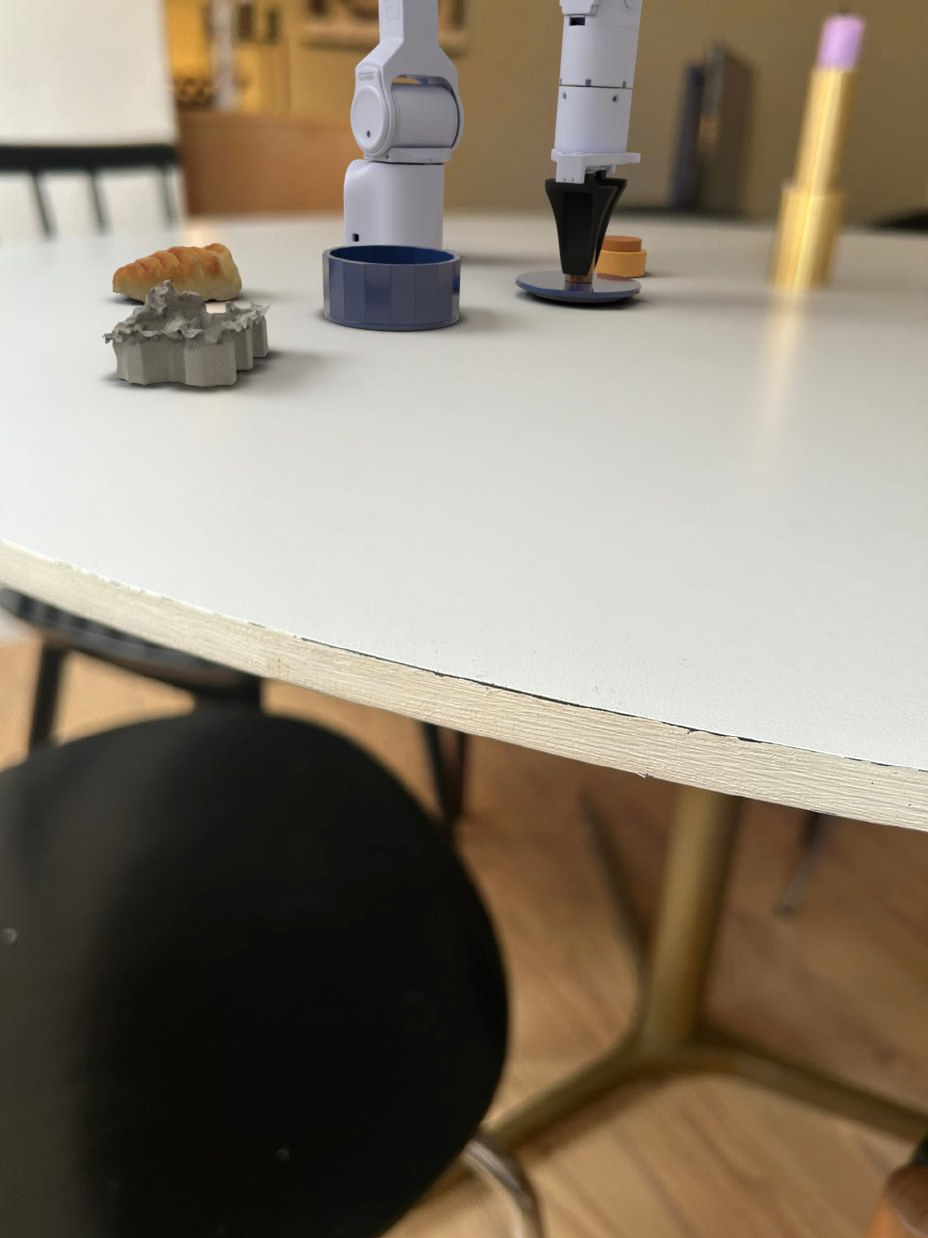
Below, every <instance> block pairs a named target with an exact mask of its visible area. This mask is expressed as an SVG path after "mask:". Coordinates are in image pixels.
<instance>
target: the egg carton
mask: <svg viewBox="0 0 928 1238" xmlns="http://www.w3.org/2000/svg"><path fill="white" fill-rule="evenodd" d="M171 282H172V280H171V279H169V280H166V281H164V283H163V284H161V282H159V283H158V284H157V286H156V287H152V289H151V290H150V291H149V292H148V293H147V295H146V301H145V303H144V304H143V306H135V307H134V308H133V311H132V314H131V315H129V316H128V317H127V318H126V319H125V320H124V321H118V322H117V323H116V325H115V326H114V327H113V328H112V331H111V332H110V333H104V334H103V335H102V337H101V339H104V343H105V345H107V344H109V343H110V342H111V341H112V342H111V343H112V344H111V345H112V349H113V352H114V354H115V358H116V372H115V373H116V377H117V379H120V380H125V381H126V382H127V383H128V384H140V385H143V386H146V385H151V384H156V383H165V382H168V383H169V382H172V383H181V384H186V385H189V386H194V387H215V386H231V385H233V384H234V383H236V382H237V379H238V377H237V371H249V370H251V369H252V368H254V358H264V357H266V356H267V355H268V351H269V340H268V328H267V327H268V325H267V320H266V317H265V315H266V314H267V312H268V310H269V309H270V307H271V305H272V304H273V302H271V303H270V304H269V305H268V304H267V305H261V304H258V303H254V302H252V301H249V307H239V306H237V305H235V304H234V302H233V301H232V300H227V301H226V302H225V304H224V307H225V311H224V312H209V311H207V304H206V303H205V301H204V300H203V298H202V297H201V296H200V295H199V294H197V293H195V292H191V291H184V292H182V291H180V290H177V289H173V286H172V283H171Z"/></svg>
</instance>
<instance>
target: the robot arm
mask: <svg viewBox="0 0 928 1238" xmlns="http://www.w3.org/2000/svg"><path fill="white" fill-rule="evenodd" d="M642 6H643V0H559V7H561V13H562V15H564V17H563V29H562V30H563V31H562V43H561V54H560V55H561V56H560V67H559V68H560V69H559V82H558V93H557V94H558V95H557V105H556V119H555V122H556V123H555V133H554V144H553V145H554V146H553V148H552V149H551V155H550V160H551V161H553V162H554V163H556V172H555V173H556V174H555V178H553V177H552V178H550V177H549V178H547V179H545V180H544V190H545V194H546V196H547V198H548V201H549V203H550V206H551V209H552V212H553V217H554V221H555V226H556V232H557V239H558V240H557V241H558V253H559V261H560V268H561V270H562V272H563V274H570V275H581V276H587V275H588V273H589V271H590V268H591V265H592V262H593V258H594V253H595V249H596V253H595V263H594V270H595V267H596V265H597V262H598V259H599V256H600V252H601V249H602V245H603V241H604V238H605V236H606V233H607V231H608V227H609V224H610V221H611V218H612V216H613V213H614V210H616V209H615V208H616V207H617V204H618V202H619V200H620V199H621V197H622V195H623V193H624V191H625V190H626V188H627V186H628V179H627V178H621V177H607V174H615V173H616V166H621V165H622V166H623V165H626V164H639V163H640V162H641V155H642V154H641V153H639V152H629V151H628V152H627V146H628V138H629V137H628V136H629V128H630V117H631V109H632V99H633V89H634V81H635V73H636V72H635V70H636V61H637V55H638V53H637V52H638V45H639V44H638V43H639V37H640V36H639V35H640V34H639V33H640V26H641V17H642V10H643V9H642ZM378 26H379V30H378V31H379V43H378V44H377V45H376V47H374V48H373V49H372V50H371V51H370V52H369V53H368V54H367V55H366V56H365V57H364V58H363V59H362V60H360V62H359V63H357V64H356V66H355V68H354V73H355V85H354V93H353V98H352V102H351V106H350V127H351V131H352V134H353V137H354V139H355V142H356V144H357V146H358V147H359V149H360V150H361V152H363V159H361V158H359V159H358V158H357V159H354V160H352V161H351V162H350V163H349V165H348V166H347V168H346V172H345V176H344V183H343V229H344V230H343V231H344V233H343V234H344V235H343V237H344V246H348V245H366V244H371V245H372V244H389V245H409V246H421V247H429V248H437V249H442V250H444V248H443V241H444V240H443V237H444V235H443V234H444V206H445V205H444V204H445V170H446V169H445V166H446V164H445V163H446V162H447V163H449V162H451V161H452V153H453V152H454V151H456V149H457V148H458V146H459V144H460V143H461V141H462V140H461V139H462V137H463V134H464V130H465V129H464V127H465V110H464V106H463V102H462V98H461V96H460V90H459V71H458V68H457V67H456V66H455V64H454V63H453V62H452V60H451V59H450V58H449V56H448V55H447V54H446V53H445V51H444V50H443V49H442V47H441V46H440V44H439V0H378ZM395 79H410V80H414V81H417V83H413V82H412V83H411V82H394V81H395ZM446 250H447V251H451V252H454V253H456V251H455V250H453V249H446Z"/></svg>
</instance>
